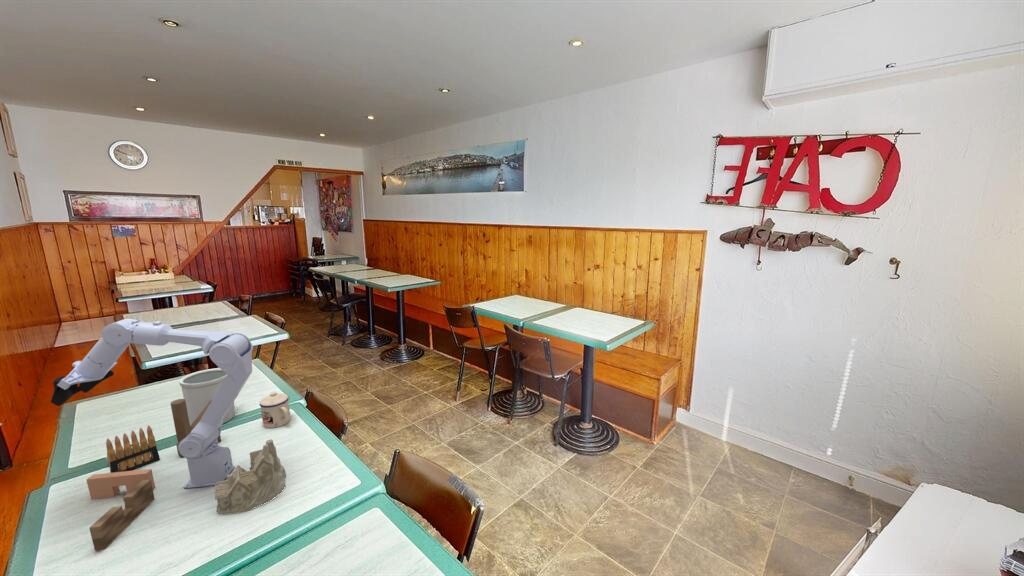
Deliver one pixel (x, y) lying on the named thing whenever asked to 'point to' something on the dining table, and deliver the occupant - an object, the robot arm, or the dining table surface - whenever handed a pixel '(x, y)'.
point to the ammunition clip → (130, 455)
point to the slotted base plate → (121, 515)
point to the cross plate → (116, 482)
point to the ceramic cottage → (252, 482)
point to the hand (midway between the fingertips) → (69, 396)
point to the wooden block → (184, 420)
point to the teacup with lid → (275, 410)
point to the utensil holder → (203, 391)
